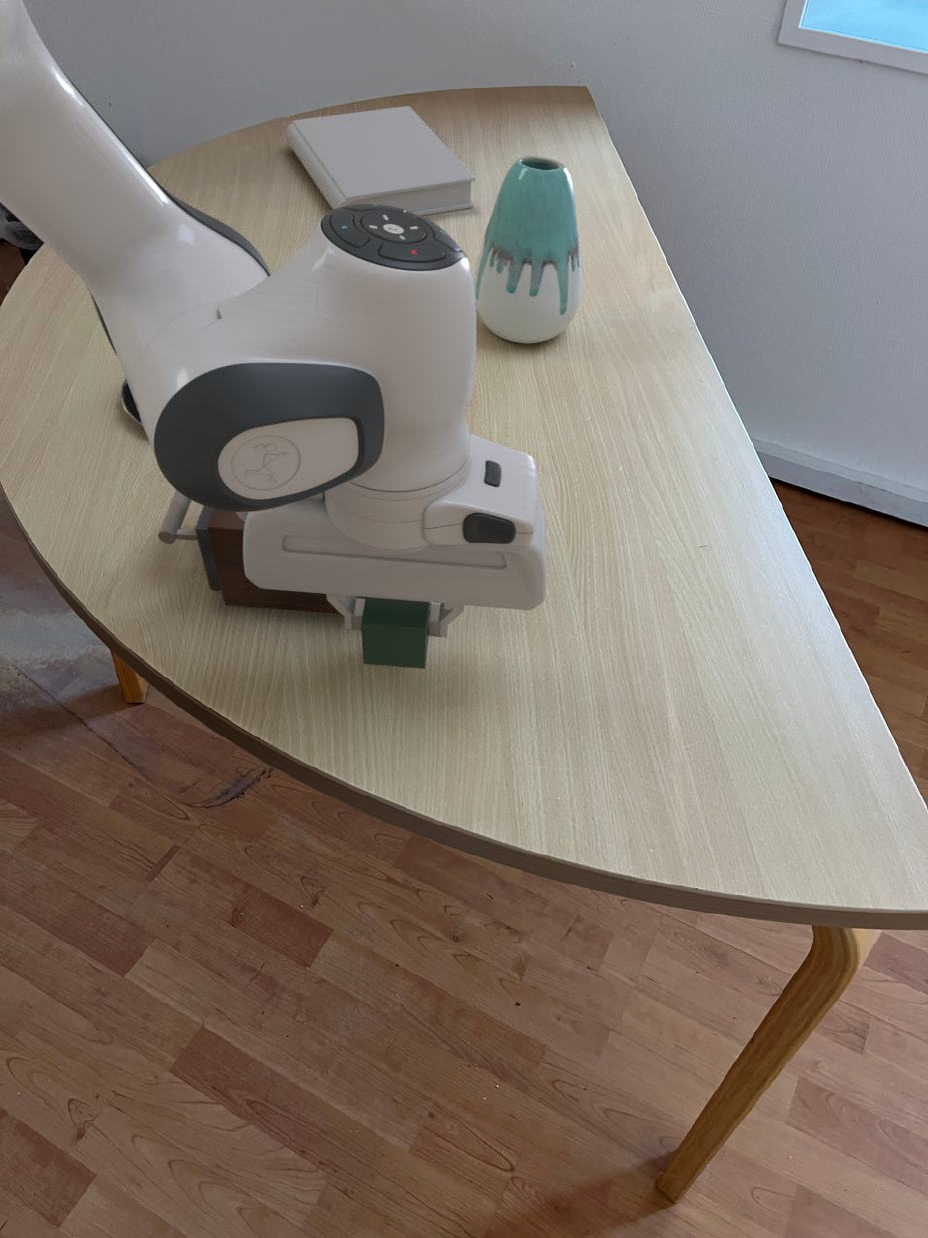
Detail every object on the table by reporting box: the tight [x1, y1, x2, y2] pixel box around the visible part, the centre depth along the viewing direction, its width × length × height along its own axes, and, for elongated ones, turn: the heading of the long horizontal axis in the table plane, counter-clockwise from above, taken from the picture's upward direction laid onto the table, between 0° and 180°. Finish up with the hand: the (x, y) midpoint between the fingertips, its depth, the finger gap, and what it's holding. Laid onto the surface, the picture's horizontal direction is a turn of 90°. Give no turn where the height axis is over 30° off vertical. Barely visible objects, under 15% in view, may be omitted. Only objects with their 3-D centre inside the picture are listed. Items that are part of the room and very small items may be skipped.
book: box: [285, 105, 476, 217], centre depth 123 cm, size 18×4×24 cm
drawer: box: [157, 489, 222, 592], centre depth 75 cm, size 17×10×7 cm, turn 86°
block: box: [360, 597, 432, 670], centre depth 67 cm, size 4×4×4 cm
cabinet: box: [207, 508, 366, 614], centre depth 75 cm, size 14×12×9 cm
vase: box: [473, 155, 584, 344], centre depth 95 cm, size 12×12×18 cm
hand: (398, 626), depth 67 cm, fingers closed on block, 4 cm apart
